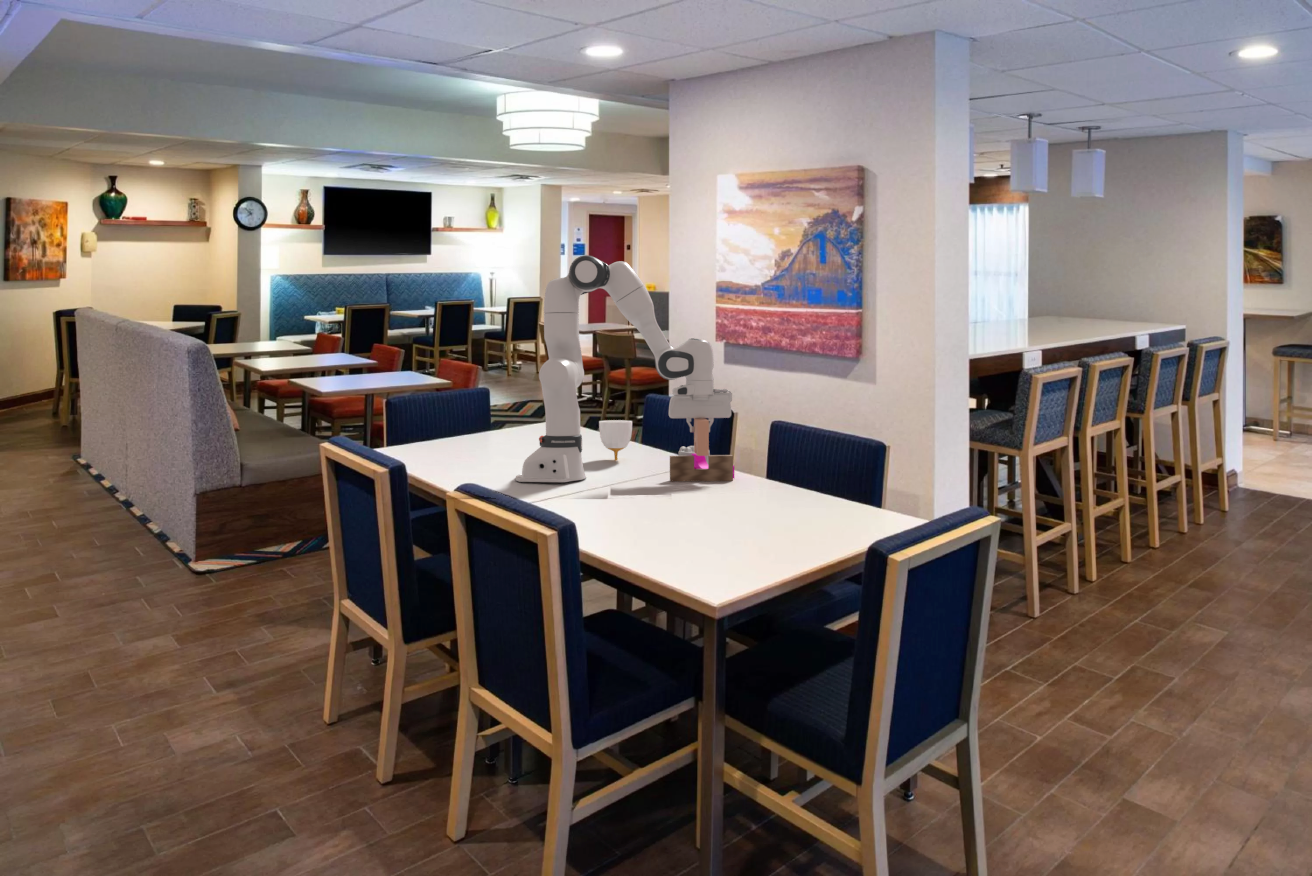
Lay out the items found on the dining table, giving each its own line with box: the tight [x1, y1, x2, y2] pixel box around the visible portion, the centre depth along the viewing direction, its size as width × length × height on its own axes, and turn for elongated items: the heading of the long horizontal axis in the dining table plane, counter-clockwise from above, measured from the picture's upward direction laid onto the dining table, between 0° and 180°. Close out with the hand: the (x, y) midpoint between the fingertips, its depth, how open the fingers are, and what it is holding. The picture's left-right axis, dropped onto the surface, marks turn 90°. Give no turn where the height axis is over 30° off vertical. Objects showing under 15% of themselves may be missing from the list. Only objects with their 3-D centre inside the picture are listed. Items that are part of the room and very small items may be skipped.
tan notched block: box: [693, 418, 710, 456], centre depth 309 cm, size 4×12×11 cm, turn 3°
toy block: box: [692, 454, 735, 479], centre depth 320 cm, size 15×6×8 cm, turn 33°
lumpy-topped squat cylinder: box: [677, 445, 711, 464], centre depth 335 cm, size 10×13×9 cm
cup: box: [598, 419, 633, 461], centre depth 341 cm, size 12×12×17 cm
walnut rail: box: [669, 454, 734, 482], centre depth 310 cm, size 20×2×8 cm, turn 93°
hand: (700, 432), depth 313 cm, fingers closed on tan notched block, 3 cm apart
